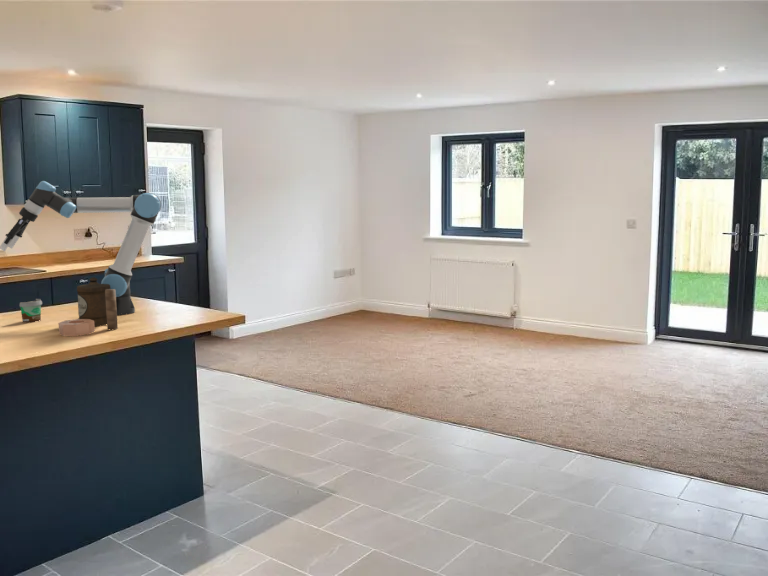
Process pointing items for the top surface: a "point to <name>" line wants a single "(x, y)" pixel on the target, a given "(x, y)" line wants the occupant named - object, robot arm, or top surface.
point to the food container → (31, 310)
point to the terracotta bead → (76, 327)
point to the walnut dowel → (111, 309)
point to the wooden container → (93, 302)
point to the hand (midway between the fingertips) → (5, 248)
